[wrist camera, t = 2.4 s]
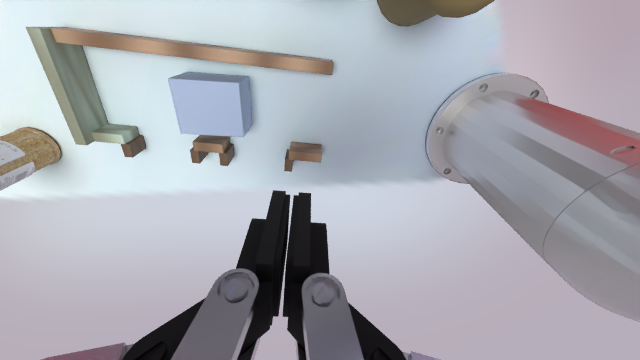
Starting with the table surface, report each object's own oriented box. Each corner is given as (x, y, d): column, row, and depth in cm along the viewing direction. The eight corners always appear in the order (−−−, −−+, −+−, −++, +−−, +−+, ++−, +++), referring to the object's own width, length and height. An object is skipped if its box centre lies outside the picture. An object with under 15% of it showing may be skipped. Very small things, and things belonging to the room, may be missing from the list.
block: (248, 75, 25) (238, 83, 22) (252, 123, 28) (243, 137, 24) (188, 71, 25) (167, 78, 21) (197, 120, 27) (180, 133, 24)
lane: (331, 59, 24) (334, 64, 21) (318, 163, 30) (319, 178, 27) (64, 26, 23) (25, 26, 20) (106, 144, 29) (81, 157, 26)
